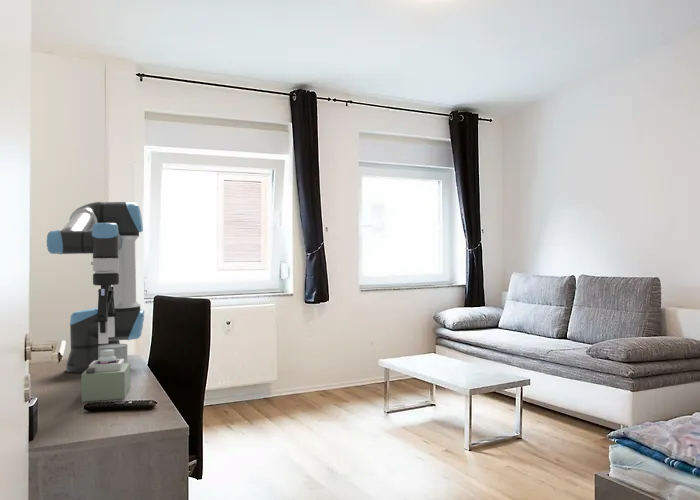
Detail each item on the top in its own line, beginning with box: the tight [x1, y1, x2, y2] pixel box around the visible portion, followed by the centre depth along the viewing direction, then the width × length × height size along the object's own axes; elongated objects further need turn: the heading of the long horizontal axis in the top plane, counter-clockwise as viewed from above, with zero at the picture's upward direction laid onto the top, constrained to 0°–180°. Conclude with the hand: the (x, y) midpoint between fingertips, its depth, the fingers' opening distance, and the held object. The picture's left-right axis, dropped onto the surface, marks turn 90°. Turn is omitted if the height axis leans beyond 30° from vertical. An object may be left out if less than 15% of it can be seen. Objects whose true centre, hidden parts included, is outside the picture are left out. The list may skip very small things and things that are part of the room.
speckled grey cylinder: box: [98, 343, 129, 363], centre depth 202 cm, size 10×10×12 cm
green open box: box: [80, 359, 132, 403], centre depth 182 cm, size 16×12×10 cm
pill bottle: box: [98, 349, 116, 364], centre depth 182 cm, size 5×5×10 cm
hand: (106, 340), depth 182 cm, fingers open, 13 cm apart
